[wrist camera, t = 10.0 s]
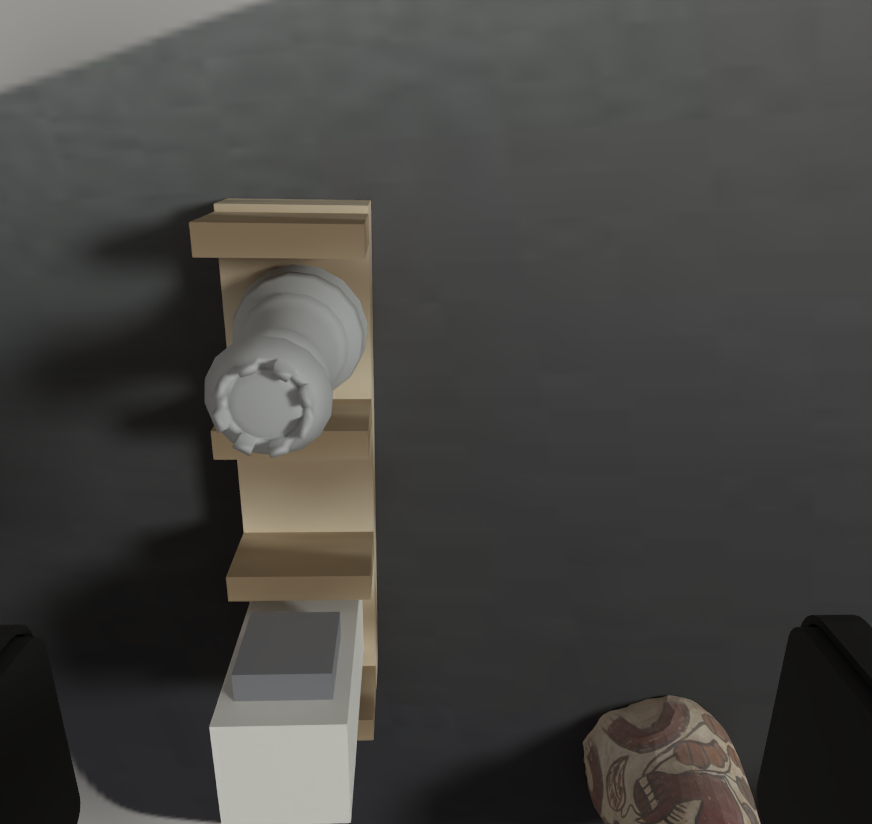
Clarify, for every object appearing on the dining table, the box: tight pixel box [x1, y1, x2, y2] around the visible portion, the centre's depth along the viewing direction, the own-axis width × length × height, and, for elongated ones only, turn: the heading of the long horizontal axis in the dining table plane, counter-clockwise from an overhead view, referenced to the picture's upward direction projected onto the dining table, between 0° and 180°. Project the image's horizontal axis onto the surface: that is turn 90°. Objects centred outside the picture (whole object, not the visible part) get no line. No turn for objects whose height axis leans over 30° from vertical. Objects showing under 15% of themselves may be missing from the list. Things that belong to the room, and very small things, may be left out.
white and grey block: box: [209, 600, 364, 824], centre depth 25 cm, size 5×4×8 cm
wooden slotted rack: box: [189, 198, 378, 740], centre depth 27 cm, size 20×5×5 cm, turn 179°
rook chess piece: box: [205, 264, 368, 458], centre depth 21 cm, size 4×4×8 cm
